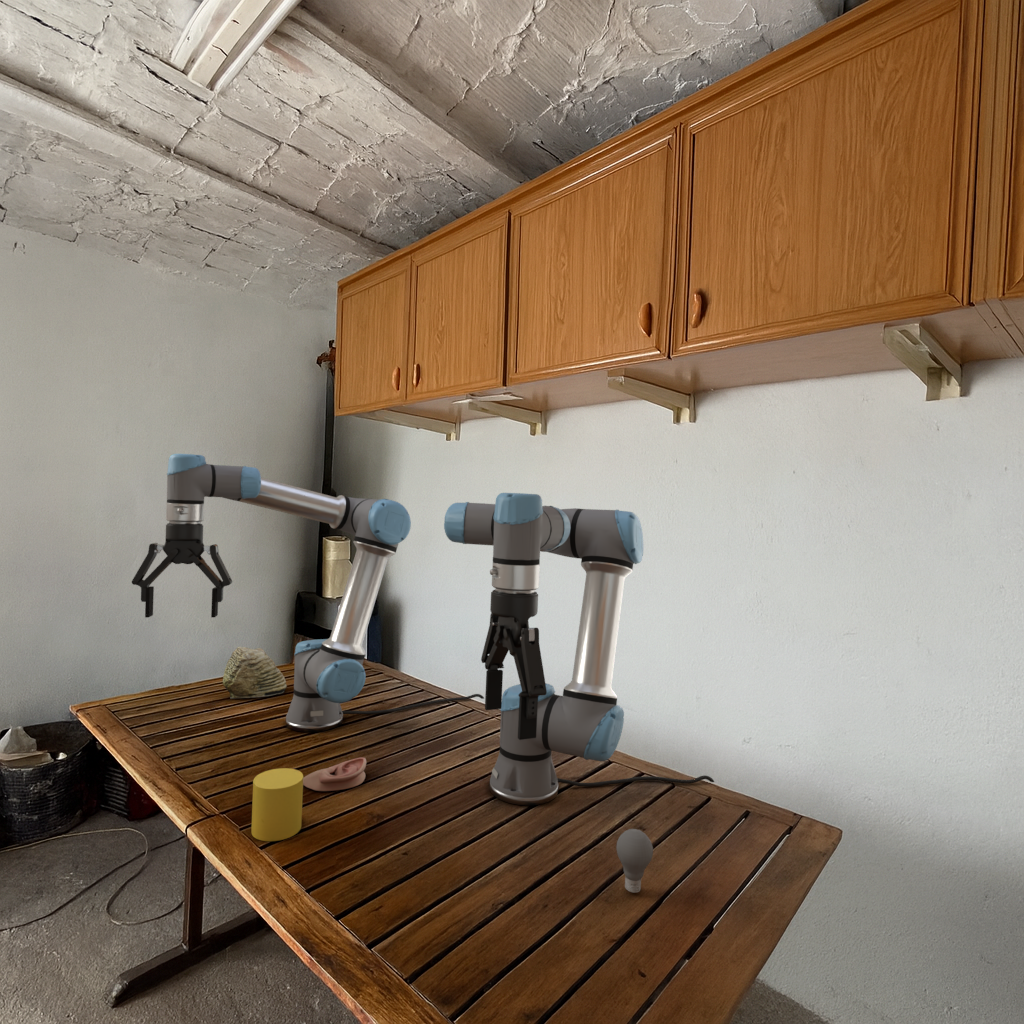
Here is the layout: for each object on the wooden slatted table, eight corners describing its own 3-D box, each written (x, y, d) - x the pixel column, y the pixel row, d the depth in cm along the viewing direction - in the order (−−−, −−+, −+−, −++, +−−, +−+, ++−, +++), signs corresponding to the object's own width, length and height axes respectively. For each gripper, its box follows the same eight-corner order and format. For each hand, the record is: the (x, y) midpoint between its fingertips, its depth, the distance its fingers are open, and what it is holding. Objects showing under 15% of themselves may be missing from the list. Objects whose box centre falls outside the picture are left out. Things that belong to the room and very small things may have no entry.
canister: (259, 846, 114) (261, 793, 114) (245, 825, 121) (247, 774, 121) (308, 832, 120) (310, 781, 119) (292, 812, 127) (294, 764, 126)
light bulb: (610, 879, 108) (613, 822, 108) (644, 879, 109) (647, 822, 109) (619, 902, 102) (622, 840, 102) (655, 901, 103) (658, 840, 103)
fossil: (218, 695, 195) (220, 647, 195) (278, 685, 208) (279, 640, 207) (228, 703, 189) (230, 653, 188) (289, 692, 201) (290, 645, 201)
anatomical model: (293, 769, 137) (319, 749, 148) (292, 787, 137) (319, 766, 148) (350, 777, 134) (372, 756, 145) (349, 796, 134) (372, 773, 146)
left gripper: (116, 521, 136) (114, 619, 137) (240, 525, 142) (237, 619, 142) (129, 520, 144) (127, 613, 144) (247, 523, 149) (244, 613, 150)
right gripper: (466, 579, 110) (461, 700, 111) (526, 603, 88) (519, 755, 88) (505, 579, 114) (500, 696, 114) (573, 602, 91) (567, 749, 91)
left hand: (182, 616), depth 143 cm, fingers open, 13 cm apart
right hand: (508, 722), depth 101 cm, fingers open, 13 cm apart
